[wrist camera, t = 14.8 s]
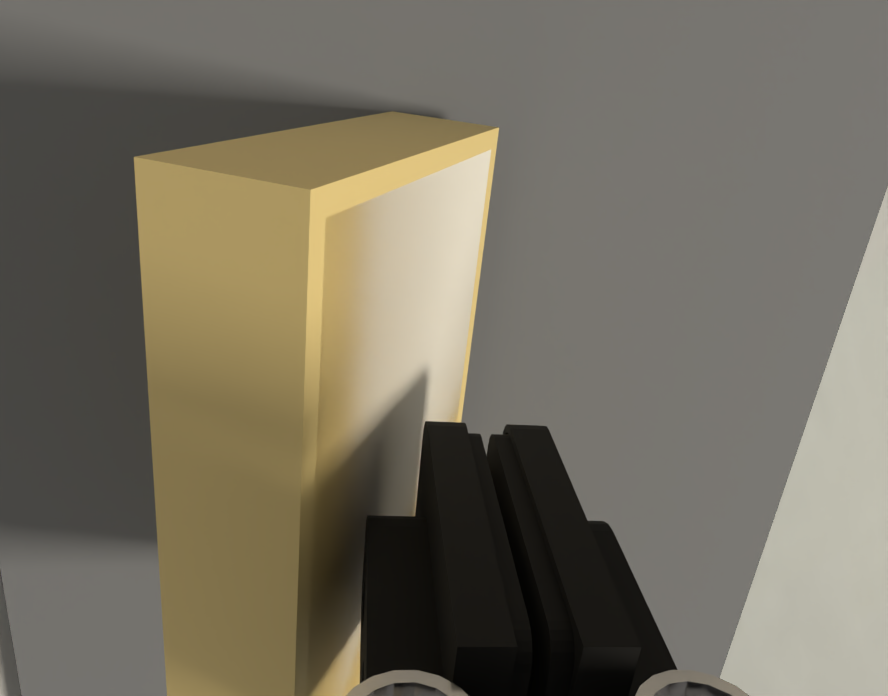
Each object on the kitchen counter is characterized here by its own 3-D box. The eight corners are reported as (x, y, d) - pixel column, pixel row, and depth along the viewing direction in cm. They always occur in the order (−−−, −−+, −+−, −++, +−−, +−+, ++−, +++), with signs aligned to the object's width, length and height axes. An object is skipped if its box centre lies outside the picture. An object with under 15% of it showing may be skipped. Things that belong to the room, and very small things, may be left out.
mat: (-131, -365, 10) (-160, -387, 9) (986, -183, 12) (1016, -193, 11) (41, 730, 18) (31, 753, 17) (686, 728, 20) (695, 748, 19)
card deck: (392, 111, 12) (134, 157, 7) (498, 127, 12) (311, 188, 6) (359, 557, 16) (174, 813, 10) (440, 584, 15) (288, 867, 10)
